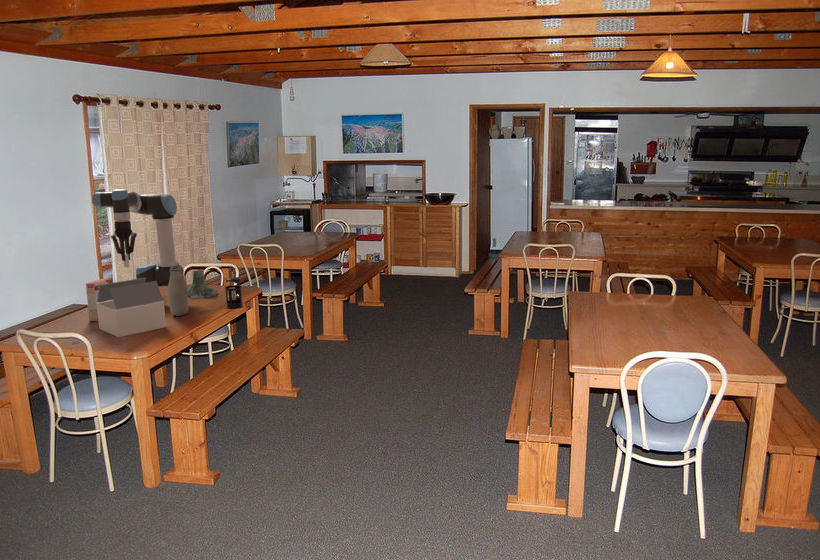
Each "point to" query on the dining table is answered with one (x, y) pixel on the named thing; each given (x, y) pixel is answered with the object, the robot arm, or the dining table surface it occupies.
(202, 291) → the tree stump
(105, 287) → the flap
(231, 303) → the black lantern
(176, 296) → the grey bottle
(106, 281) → the cracker box
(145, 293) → the flap
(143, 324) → the carton
